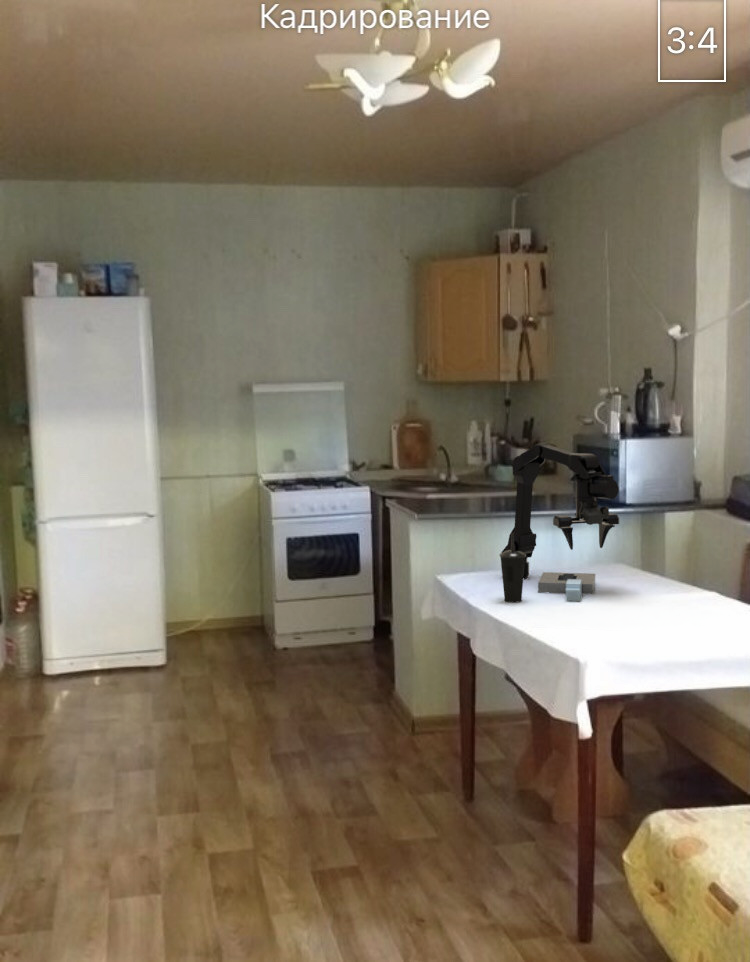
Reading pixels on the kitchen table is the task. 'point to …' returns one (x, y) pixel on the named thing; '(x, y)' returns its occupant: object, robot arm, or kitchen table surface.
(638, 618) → the kitchen table surface
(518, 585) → the drinking cup
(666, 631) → the kitchen table surface
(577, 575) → the grey square base plate
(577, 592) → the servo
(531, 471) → the robot arm
